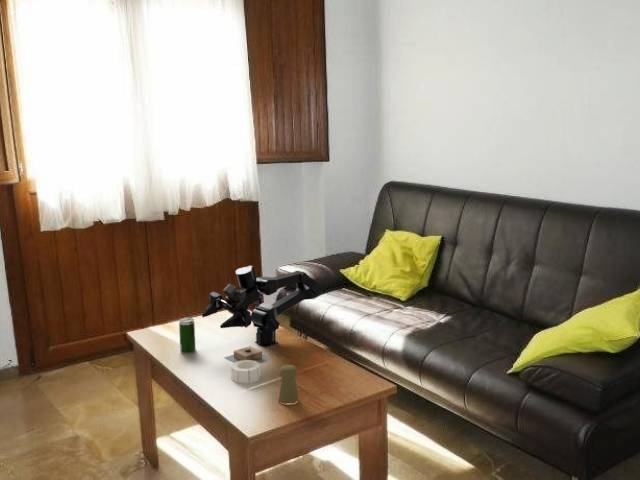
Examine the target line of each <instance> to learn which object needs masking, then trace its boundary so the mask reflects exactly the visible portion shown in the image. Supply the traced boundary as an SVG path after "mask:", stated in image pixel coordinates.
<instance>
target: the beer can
mask: <svg viewBox="0 0 640 480" xmlns="http://www.w3.org/2000/svg"><path fill="white" fill-rule="evenodd" d="M194 319H195V318H192V317H184V318H180V319H179V323H178V326H179V327H178V329H179V348H180V349H179V351H180V353H181V354H187V355H189V354H193V353H195V352H196V350H197V349H196V328H195V327H196V326H195V320H194Z"/></svg>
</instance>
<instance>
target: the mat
mask: <svg viewBox="0 0 640 480" xmlns="http://www.w3.org/2000/svg"><path fill="white" fill-rule="evenodd" d="M224 359H225V360H227V361H229V362H231V363H232V364H233V363H234V362H238V361H239V360H237V359H235V358H234V354H231V355H229V356H225V357H224ZM270 360H273V358H271V357H270V356H268V355H265V354H263V353H262V359H259V360H256V362H258V363H260V364H261V363H264V362H267V361H270Z"/></svg>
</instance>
